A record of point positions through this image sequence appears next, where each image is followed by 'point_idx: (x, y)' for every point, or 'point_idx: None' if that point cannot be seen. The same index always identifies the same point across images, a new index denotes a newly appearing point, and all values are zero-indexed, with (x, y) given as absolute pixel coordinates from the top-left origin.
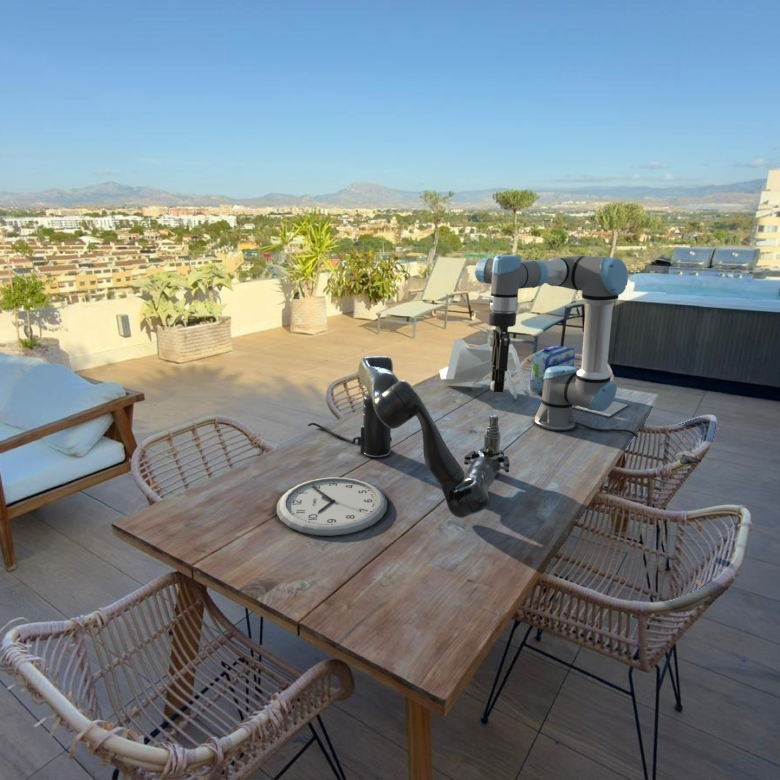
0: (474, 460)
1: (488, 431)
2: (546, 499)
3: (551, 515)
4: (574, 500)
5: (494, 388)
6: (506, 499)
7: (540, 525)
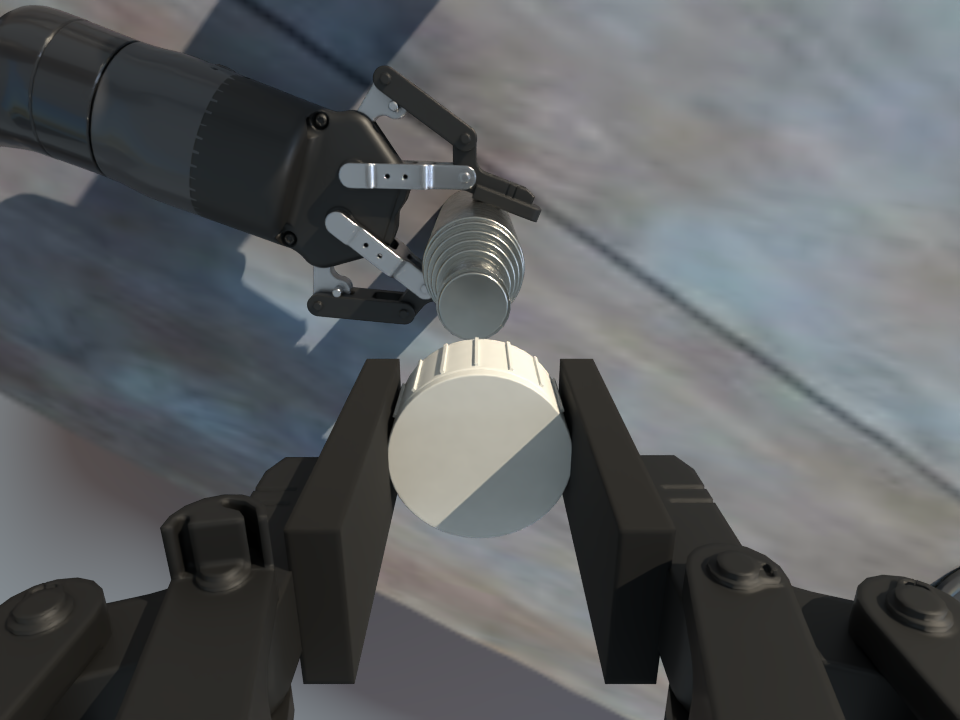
0: (270, 112)
1: (446, 239)
2: (252, 413)
3: (129, 401)
4: None
5: (357, 380)
6: (221, 256)
7: (43, 345)
